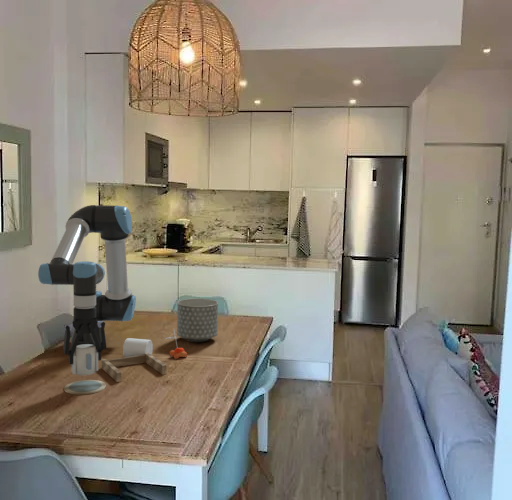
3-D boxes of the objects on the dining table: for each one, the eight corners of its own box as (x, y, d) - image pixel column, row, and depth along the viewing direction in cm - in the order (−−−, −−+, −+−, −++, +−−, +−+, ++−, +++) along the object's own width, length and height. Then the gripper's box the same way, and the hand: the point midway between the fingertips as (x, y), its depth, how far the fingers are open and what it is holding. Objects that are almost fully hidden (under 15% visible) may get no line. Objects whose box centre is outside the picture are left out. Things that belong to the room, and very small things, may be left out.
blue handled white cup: (92, 367, 193) (92, 343, 192) (100, 375, 185) (99, 349, 184) (72, 370, 189) (72, 345, 188) (79, 378, 181) (79, 352, 180)
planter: (169, 342, 249) (169, 303, 247) (189, 333, 267) (189, 297, 265) (205, 347, 242) (206, 308, 240) (224, 337, 260) (224, 300, 258)
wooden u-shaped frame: (101, 368, 210) (101, 359, 210) (148, 361, 220) (148, 352, 220) (117, 382, 195) (117, 372, 194) (166, 373, 205) (166, 364, 205)
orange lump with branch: (166, 354, 230) (166, 327, 229) (188, 355, 230) (189, 328, 229) (163, 358, 224) (163, 330, 223) (186, 359, 224) (186, 331, 223)
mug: (145, 361, 220) (145, 342, 219) (122, 359, 222) (122, 340, 221) (156, 353, 231) (156, 335, 231) (134, 351, 233) (134, 333, 233)
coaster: (59, 384, 191) (59, 383, 190) (99, 378, 198) (99, 377, 198) (69, 397, 179) (69, 396, 179) (111, 390, 186) (111, 389, 186)
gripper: (109, 302, 194) (109, 364, 196) (52, 307, 183) (52, 372, 186) (116, 306, 188) (116, 370, 190) (57, 311, 177) (58, 379, 179)
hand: (85, 371), depth 188 cm, fingers closed on blue handled white cup, 7 cm apart
